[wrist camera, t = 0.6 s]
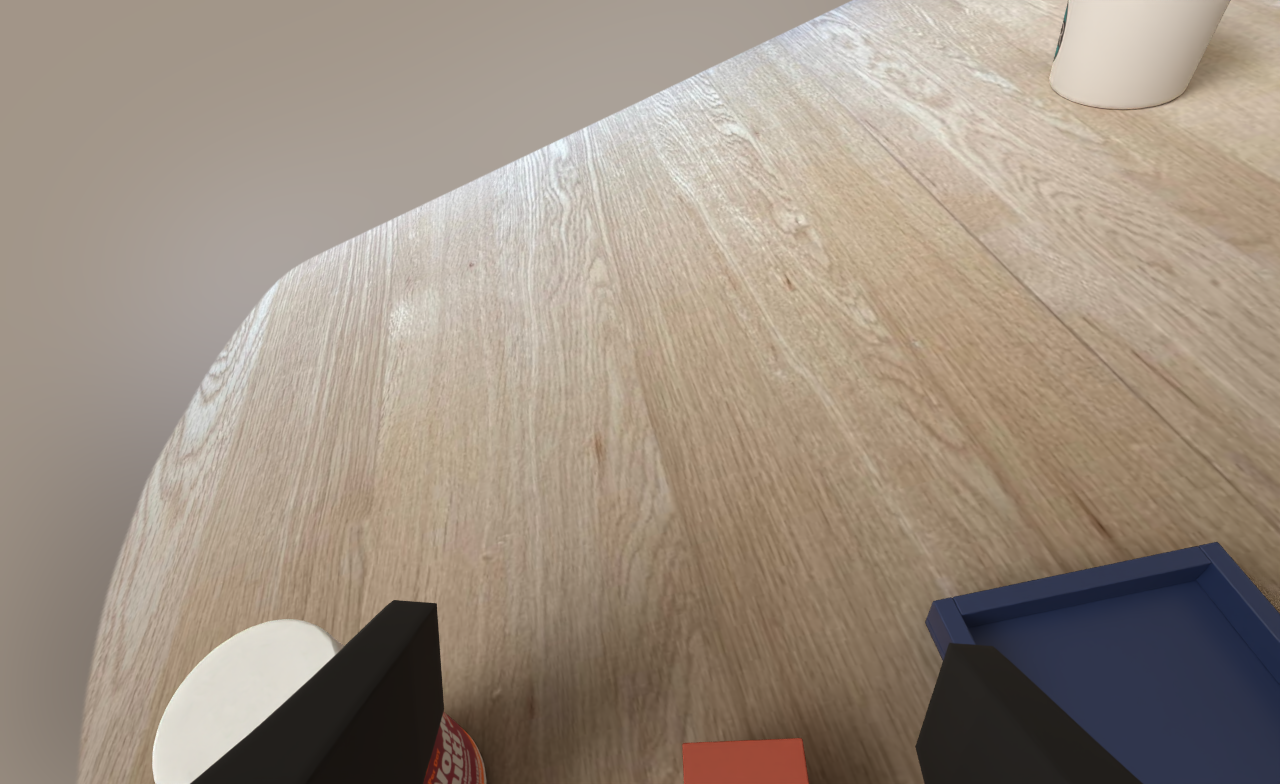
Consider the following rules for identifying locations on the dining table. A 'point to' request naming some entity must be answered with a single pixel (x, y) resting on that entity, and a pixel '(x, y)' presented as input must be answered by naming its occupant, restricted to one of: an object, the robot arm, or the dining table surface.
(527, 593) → the dining table surface
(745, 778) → the block
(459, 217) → the dining table surface
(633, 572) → the dining table surface
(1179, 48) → the mug
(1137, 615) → the tray
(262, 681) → the pill bottle
